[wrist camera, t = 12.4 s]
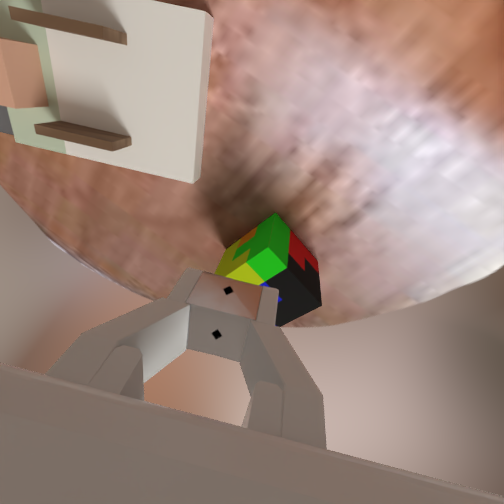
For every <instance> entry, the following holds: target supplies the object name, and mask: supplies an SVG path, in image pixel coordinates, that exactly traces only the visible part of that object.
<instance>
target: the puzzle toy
mask: <svg viewBox="0 0 504 504" xmlns="http://www.w3.org/2000/svg"><path fill="white" fill-rule="evenodd" d="M215 274H217V275H220V276H224V277H228V278H232V279H235V280H239V281H243V282H247V283H251V284H256V285H260V286H266V287H271V288H276V289H278V290H279V294H278V303H277V312H276V321H275V326H278V327H281V326H283V325H285V324H287V323H289V322H291V321H292V320H294V319H296V318H298V317H300V316H302V315H304V314H306V313H308V312H310V311H312V310H314V309H316V308H318V307H320V306H322V302H321V291H320V280H319V269H318V261H317V260H316V259H315V258H314V256H313V255H312V254H311V253H310V252H309V251H308V250H307V248H306V247H305V246H304V245H303V244H302V243H301V241H300V240H299V239H298V238H297V237H296V236H295V234H294V233H293V232H292V231H291V230H290V229H289V227H288V226H287V225H286V224H285V223H284V222H283V220H282V219H281V218H280V217H279V216H278V215H277V213H274V214H273V215H272V216H270V217H269V218H268V219H266V220H265V221H263V222H262V223H261V224H259V225H258V226H257V227H255V228H254V229H253V230H251V231H250V232H249V233H247V234H246V235H245V236H243V237H242V238H241V239H239V240H238V241H237V242H235V243H234V244H233V245H231V246H230V247H229V248H227V249H226V250H225V252H224V255H223V257H222V259H221V261H220V263H219V265H218V267H217V269H216V271H215Z"/></svg>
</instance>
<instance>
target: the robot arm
mask: <svg viewBox="0 0 504 504" xmlns="http://www.w3.org/2000/svg"><path fill="white" fill-rule="evenodd" d="M278 294H279V290H278V289H276V288H271V287H266V286H260V285H256V284H251V283H247V282H243V281H239V280H235V279H232V278H228V277H224V276H220V275H217V274H213V273H209V272H206V271H204V272H203V271H201V270H197V269H193V268H187V269H186V270H185V271H184V273H183V274H182V276H181V278H180V279H179V281H178V282H177V284H176V285H175V287H174V288H173V290H172V291H171V293H170V294H169V296H168V297H167V299H166V298H160V299H158V300H155V301H153V302H151V303H149V304H146V305H144V306H142V307H140V308H137V309H135V310H133V311H131V312H129V313H126V314H124V315H122V316H119V317H117V318H115V319H112V320H110V321H108V322H106V323H103V324H101V325H99V326H97V327H94V328H92V329H90V330H88V331H85V332H83V333H82V334H81V335H80V336H79V337H78V338H77V339H76V340H75V342H74V343H73V344H72V345H71V346H70V347H69V348H68V349H67V350H66V352H65V353H64V354H63V355H62V356H61V357H60V358H59V359H58V361H56V362H55V364H54V365H53V366H52V367H51V368H50V369H49V370H48V371H47V372H46V373H45V374H40V373H37V372H33V371H30V370H26V369H22V368H18V367H14V366H11V365H7V364H3V363H0V504H504V496H500V495H496V494H492V493H489V492H485V491H481V490H477V489H474V488H470V487H466V486H462V485H459V484H455V483H451V482H447V481H443V480H440V479H436V478H432V477H429V476H425V475H421V474H417V473H413V472H409V471H406V470H402V469H398V468H395V467H391V466H387V465H383V464H379V463H376V462H372V461H368V460H364V459H361V458H357V457H353V456H350V455H346V454H342V453H338V452H335V451H330V450H327V448H326V434H325V419H324V405H323V395H322V393H321V392H320V390H319V389H318V387H317V385H316V384H315V382H314V381H313V379H312V378H311V376H310V374H309V373H308V371H307V370H306V368H305V366H304V365H303V363H302V362H301V360H300V358H299V357H298V355H297V354H296V352H295V350H294V349H293V347H292V346H291V344H290V343H289V341H288V339H287V338H286V336H285V335H284V333H283V332H282V330H281V328H280V327H278V326H275V321H276V312H277V303H278ZM186 349H191V350H195V351H200V352H204V353H208V354H212V355H213V354H214V355H217V356H220V357H223V358H227V359H230V360H234V361H237V362H240V366H241V369H242V372H243V375H244V378H245V381H246V384H247V386H248V390H249V393H250V396H251V399H250V402H249V405H248V408H247V411H246V415H245V417H244V420H243V424H242V427H240V426H236V425H232V424H228V423H225V422H221V421H218V420H214V419H210V418H206V417H202V416H199V415H195V414H191V413H187V412H184V411H180V410H176V409H172V408H169V407H165V406H161V405H157V404H154V403H149V402H146V401H144V385H143V384H144V383H145V382H146V381H147V380H148V379H150V378H151V377H152V376H153V375H155V374H156V373H157V372H159V371H160V370H161V369H162V368H164V367H165V366H166V365H167V364H169V363H170V362H172V361H173V360H174V359H175V358H177V357H178V356H179V355H181V354H182V353H183V352H184V351H186Z"/></svg>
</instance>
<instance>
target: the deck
mask: <svg viewBox="0 0 504 504" xmlns="http://www.w3.org/2000/svg"><path fill="white" fill-rule="evenodd" d="M8 6H13V7H17V8H22V9H27V10H31V11H36V12H41V13H45V14H50V15H55V16H59V17H64V18H69V19H73V20H78V21H83V22H87V23H92V24H97V25H101V26H105V27H108V28H111V29H114V30H117V31H121V32H124V33H127V45H123V44H118V43H114V42H109V41H104V40H100V39H95V38H90V37H86V36H81V35H77V34H72V33H67V32H63V31H58V30H54V29H49V28H44V27H40V26H36V25H32V24H28V23H24V22H19V21H15V20H11V17H10V12H9V8H8ZM213 24H214V18H213V17H212V16H211V15H209V14H208V13H207V12H206V11H202V10H197V9H192V8H187V7H182V6H178V5H173V4H168V3H163V2H159V1H154V0H0V37H3V38H7V39H12V40H17V41H21V42H26V43H31V44H35V45H37V46H38V51H39V57H40V62H41V67H42V73H43V78H44V83H45V89H46V94H47V99H48V104H49V106H48V107H34V108H19V109H15V108H10V107H6V106H1V105H0V132H3V133H7V134H12V135H14V137H15V141H16V142H17V143H22V144H26V145H30V146H34V147H39V148H43V149H47V150H51V151H56V152H60V153H64V154H68V155H73V156H77V157H81V158H85V159H90V160H94V161H98V162H103V163H107V164H111V165H115V166H120V167H124V168H128V169H132V170H137V171H141V172H145V173H149V174H154V175H158V176H162V177H166V178H171V179H175V180H179V181H184V182H188V183H192V184H193V183H194V182H196V181H197V180H198V179H199V178H200V176H201V164H202V153H203V141H204V129H205V118H206V106H207V94H208V83H209V71H210V59H211V47H212V36H213ZM54 121H65V122H69V123H73V124H78V125H82V126H86V127H91V128H95V129H100V130H104V131H108V132H113V133H117V134H121V135H126V136H130V137H131V139H132V145H131V146H128V147H125V148H122V149H119V150H116V151H113V152H112V151H108V150H103V149H99V148H95V147H90V146H86V145H82V144H77V143H73V142H69V141H65V140H60V139H56V138H52V137H47V136H43V135H39V134H36V132H35V128H34V124H39V123H46V122H54Z"/></svg>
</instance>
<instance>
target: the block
mask: <svg viewBox="0 0 504 504" xmlns="http://www.w3.org/2000/svg"><path fill="white" fill-rule="evenodd" d="M0 105H1V106H6V107H10V108H15V109H19V108H34V107H48V106H49V104H48V99H47V94H46V89H45V83H44V78H43V73H42V67H41V62H40V57H39V51H38V46H37V45H35V44H31V43H26V42H21V41H17V40H12V39H7V38H3V37H0Z"/></svg>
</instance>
